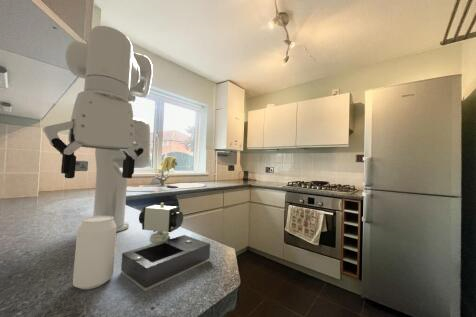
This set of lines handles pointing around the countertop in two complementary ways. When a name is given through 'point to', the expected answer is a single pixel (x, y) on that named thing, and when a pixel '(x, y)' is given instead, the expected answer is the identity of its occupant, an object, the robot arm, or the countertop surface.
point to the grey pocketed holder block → (163, 260)
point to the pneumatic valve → (160, 221)
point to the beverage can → (94, 252)
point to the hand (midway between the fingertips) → (100, 177)
